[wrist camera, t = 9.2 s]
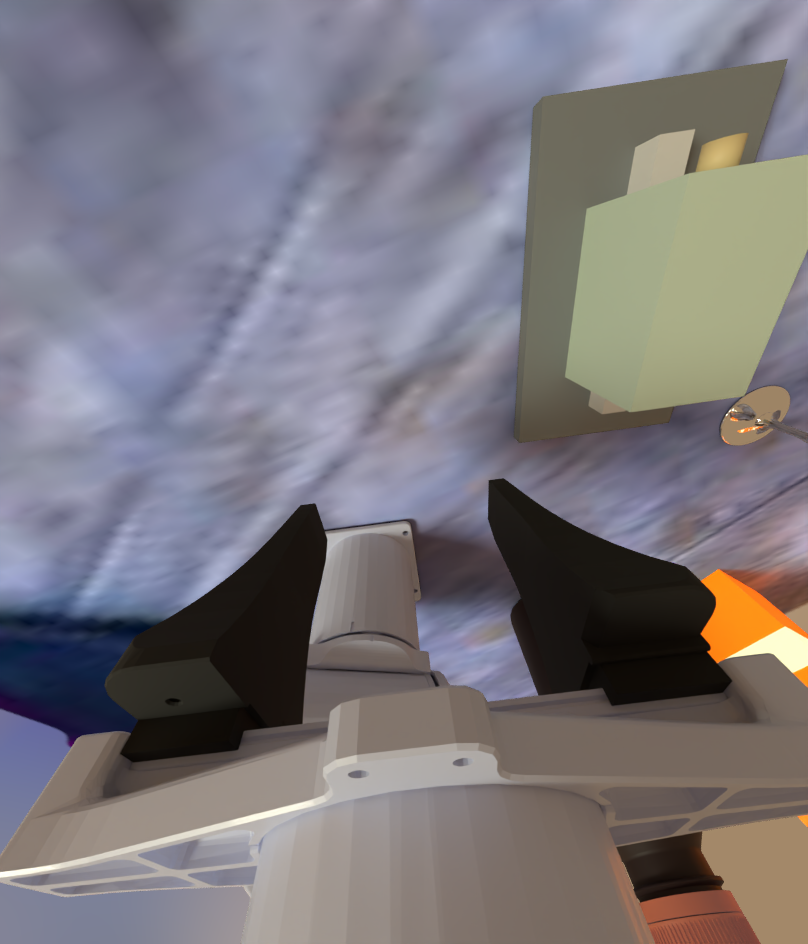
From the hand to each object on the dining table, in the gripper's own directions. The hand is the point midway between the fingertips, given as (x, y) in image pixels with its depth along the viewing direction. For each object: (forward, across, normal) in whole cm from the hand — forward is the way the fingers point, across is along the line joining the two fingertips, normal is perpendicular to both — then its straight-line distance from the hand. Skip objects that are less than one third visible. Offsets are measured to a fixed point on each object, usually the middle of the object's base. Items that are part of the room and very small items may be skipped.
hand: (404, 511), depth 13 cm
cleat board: (+10, -13, -6) cm, 17 cm away
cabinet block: (+8, -13, -6) cm, 17 cm away
